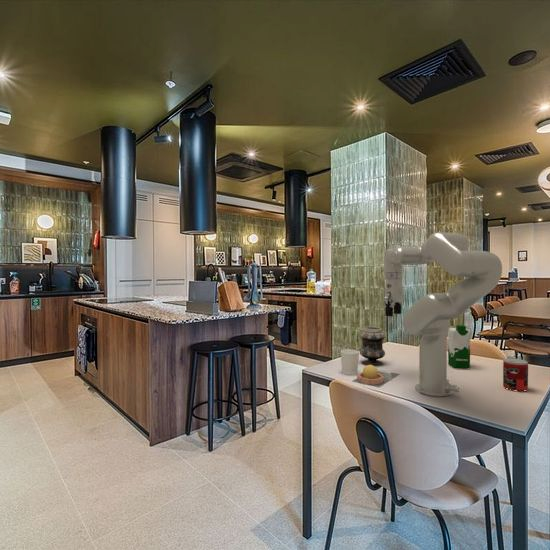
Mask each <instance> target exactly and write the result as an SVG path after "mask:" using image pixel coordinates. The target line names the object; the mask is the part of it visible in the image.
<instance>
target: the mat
mask: <svg viewBox="0 0 550 550" xmlns="http://www.w3.org/2000/svg"><path fill="white" fill-rule="evenodd" d="M379 370H380V371H382V370H381V369H379ZM384 371H385V372H388V371H386V370H384ZM389 372H390V371H389ZM390 373H391V380H386V379H384V381H383V383H382V384H380V385H369V386H371V387H375V388H381V387H383V386H384V385H385V384H387V383H389V382H390V381H392V380H393V379H395V378H396V377H398V376H399V375H400V373H396V372H390ZM352 382H353V383H359V384H362V385H364V384H363V383H360V382H359V381H358V379H357V378H355V379H353V380H352ZM365 385H367V384H365ZM367 386H368V385H367Z"/></svg>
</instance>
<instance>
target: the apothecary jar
mask: <svg viewBox="0 0 550 550" xmlns="http://www.w3.org/2000/svg"><path fill="white" fill-rule="evenodd" d="M359 335H360V336H359V337H360V338H361V339H362V346H361V348H360V349H359V354H360V355H361V357H362V358H364V359H366V360H363V361H362V362H361V363H362V364H363V365H365V366H367V365H373V366H375V367H380V366H383V362H382V361H379V359H382V358H384V357H385V355H386V352H385V350H384V349H383V348H384V347H383V345H384V344H383V341H384V340H385V338H386V335H385V333H384V332H383V330H382V327H380V326H373V325H372V326H369V325H367V326H363V331H361V332H360V334H359Z"/></svg>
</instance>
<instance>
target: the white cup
mask: <svg viewBox="0 0 550 550" xmlns="http://www.w3.org/2000/svg"><path fill="white" fill-rule="evenodd" d="M359 354H360V350H357V349H349V348H347V349H341V350H340V362H341V364H340V365H341V372H342V374H343V375H347V376H354V375H356V376H357V374H358V371H359V356H360V355H359Z"/></svg>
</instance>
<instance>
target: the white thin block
mask: <svg viewBox="0 0 550 550" xmlns="http://www.w3.org/2000/svg"><path fill="white" fill-rule="evenodd" d="M380 370H381V369H377V371H378V374H381V375H382V376H384V379H386V380H390V381H392V380H391V373H390V371H387V372H385V371H386V370H381V371H380Z"/></svg>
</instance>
